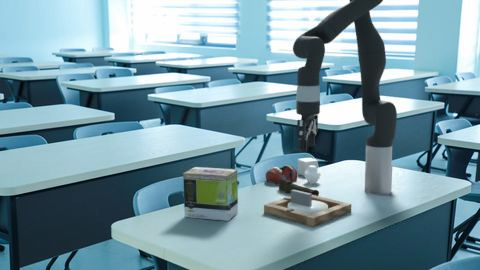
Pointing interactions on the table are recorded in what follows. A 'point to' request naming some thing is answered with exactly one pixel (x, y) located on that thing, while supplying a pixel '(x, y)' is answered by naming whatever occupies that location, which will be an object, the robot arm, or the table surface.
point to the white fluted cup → (312, 174)
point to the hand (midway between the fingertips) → (307, 148)
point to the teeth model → (281, 174)
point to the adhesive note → (305, 165)
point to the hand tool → (294, 187)
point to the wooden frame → (312, 220)
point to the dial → (305, 203)
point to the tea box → (210, 193)
